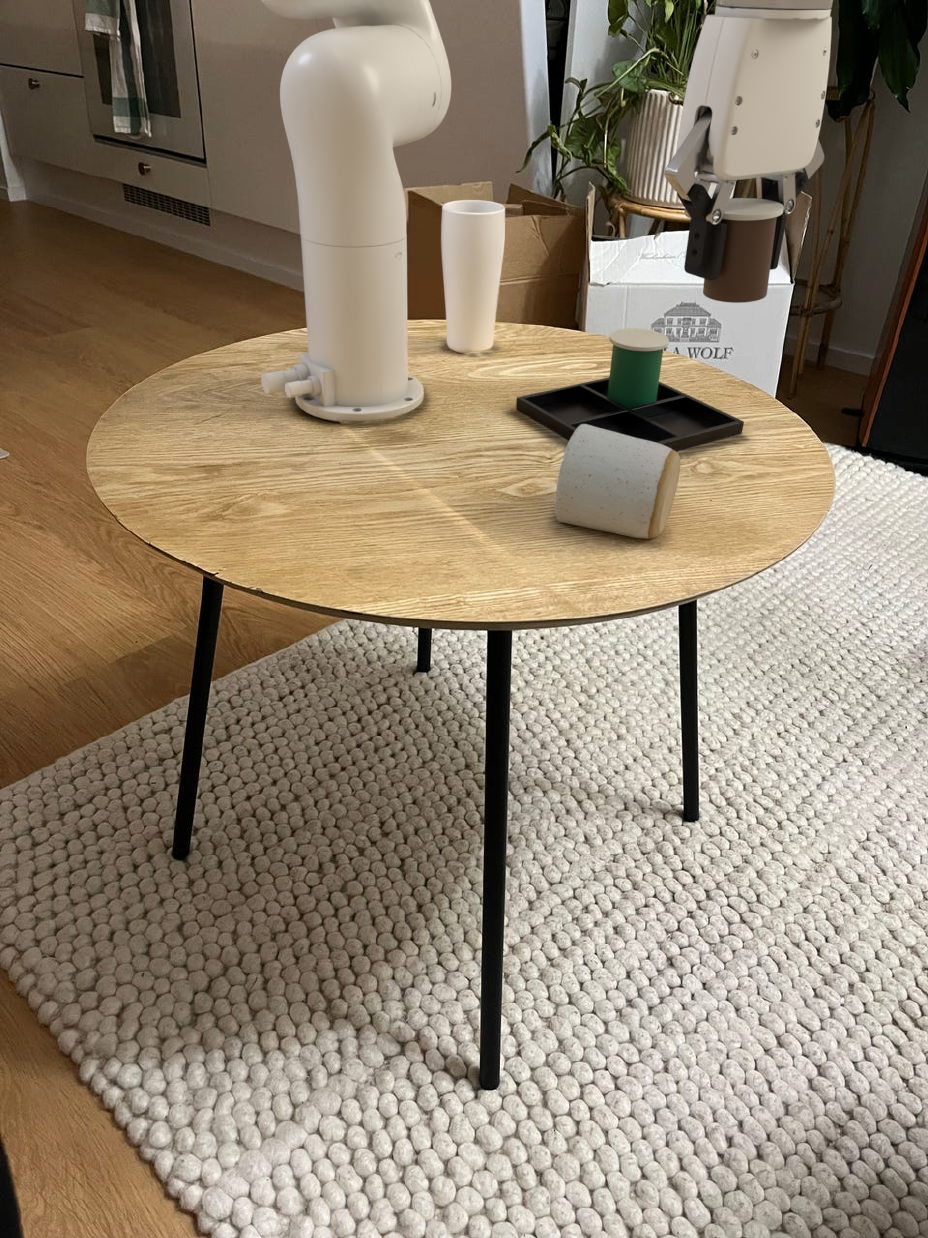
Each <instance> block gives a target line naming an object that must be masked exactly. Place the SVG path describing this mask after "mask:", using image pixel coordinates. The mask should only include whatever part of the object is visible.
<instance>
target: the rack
mask: <svg viewBox="0 0 928 1238" xmlns="http://www.w3.org/2000/svg"><path fill="white" fill-rule="evenodd" d="M609 377H610V376H608V377H603V378H600V379H595V380H590V381H587V382H586V381H585V382H581V383H577V384H571V385H568V386H563V387H559V388H554V389H549V390H544V391H540V392H536V393H531V394H526V395H522V396H518V397H516V404H515V411H516V412H519V413H520V414H522V415H524V416H525V417H527V418H529V419H531V420H533V421H534V422H536V423H537V424H539V425H541V426H542V427H544V428H546V429H548V430H549V431H551V432H553V433H554V434H556V435H558V436H560V437H562V438H563V439H565V440H566V441H568V442H569V441H570V438H571V437H572V435H573V433H574V432H575V430H576V429H577V427H579V425H581V424H587V425H591V426H594V427H598V428H602V429H606V430H609V431H613V432H617V433H620V434H624V435H628V436H631V437H635V438H639V439H643V440H648V441H652V442H656V443H659V444H662V445H664V446H667V447H669V448H671V449H673V450H675V451H676V452H677V453H678V452H682V451H685V450H689V449H692V448H696V447H697V448H698V447H700V446H703V445H707V444H711V443H715V442H718V441H722V440H725V439H729V438H733V437H737V436H740V435H743V430H744V424H745V421H744V420H741V419H739V418H738V417H736V416H733V415H731V414H729V413H727V412H725V411H723V410H721V409H719V408H716V407H714V406H712V405H710V404H708V403H706V402H705V401H704V402H703V401H701V400H699V399H697V398H695V397H693V396H691V395H689V394H686V393H684V392H682V391H680V390H678V389H676V388H674V387H672V386H670V385H667V384H665V383H663V382H661V381H659V385H658V392H657V399H656V402H652V403H648V404H643V405H639V406H635V407H631V408H627V407H625V406H624V405H622V404H620V403H618V402H616V401H614V400H612V399H610V398H608V397H607V395H608V386H609Z"/></svg>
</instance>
